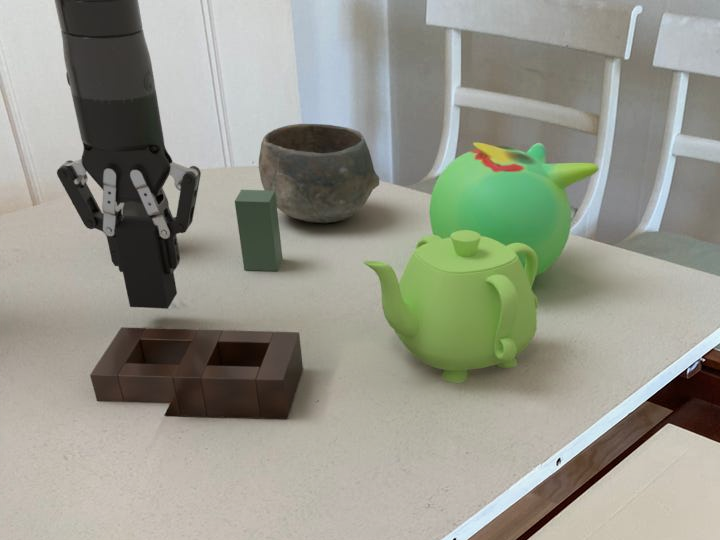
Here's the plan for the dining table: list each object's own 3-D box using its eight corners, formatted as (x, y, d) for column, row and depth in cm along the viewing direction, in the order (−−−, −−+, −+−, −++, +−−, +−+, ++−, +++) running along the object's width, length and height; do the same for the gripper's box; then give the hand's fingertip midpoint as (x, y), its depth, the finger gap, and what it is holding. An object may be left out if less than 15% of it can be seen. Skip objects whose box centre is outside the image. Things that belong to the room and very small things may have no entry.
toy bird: (410, 256, 121) (407, 127, 111) (532, 240, 126) (540, 115, 116) (466, 313, 109) (468, 174, 99) (598, 293, 114) (613, 159, 104)
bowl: (263, 201, 135) (254, 122, 128) (374, 197, 137) (371, 119, 130) (265, 238, 125) (255, 154, 118) (385, 233, 127) (382, 150, 120)
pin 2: (244, 270, 117) (234, 200, 111) (250, 257, 120) (241, 189, 114) (277, 271, 117) (269, 201, 111) (282, 258, 120) (275, 190, 114)
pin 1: (129, 307, 102) (113, 229, 97) (140, 291, 105) (125, 215, 100) (167, 308, 102) (153, 231, 97) (177, 293, 105) (164, 217, 100)
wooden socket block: (100, 414, 91) (89, 374, 88) (130, 364, 98) (121, 327, 95) (287, 419, 91) (283, 380, 88) (303, 369, 98) (299, 332, 96)
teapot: (505, 409, 93) (512, 279, 85) (368, 384, 96) (361, 256, 88) (547, 339, 105) (557, 218, 96) (423, 318, 108) (422, 199, 99)
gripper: (199, 80, 93) (223, 260, 104) (49, 72, 93) (90, 254, 104) (180, 100, 87) (208, 288, 99) (21, 92, 87) (67, 281, 99)
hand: (147, 269), depth 101 cm, fingers closed on pin 1, 4 cm apart
